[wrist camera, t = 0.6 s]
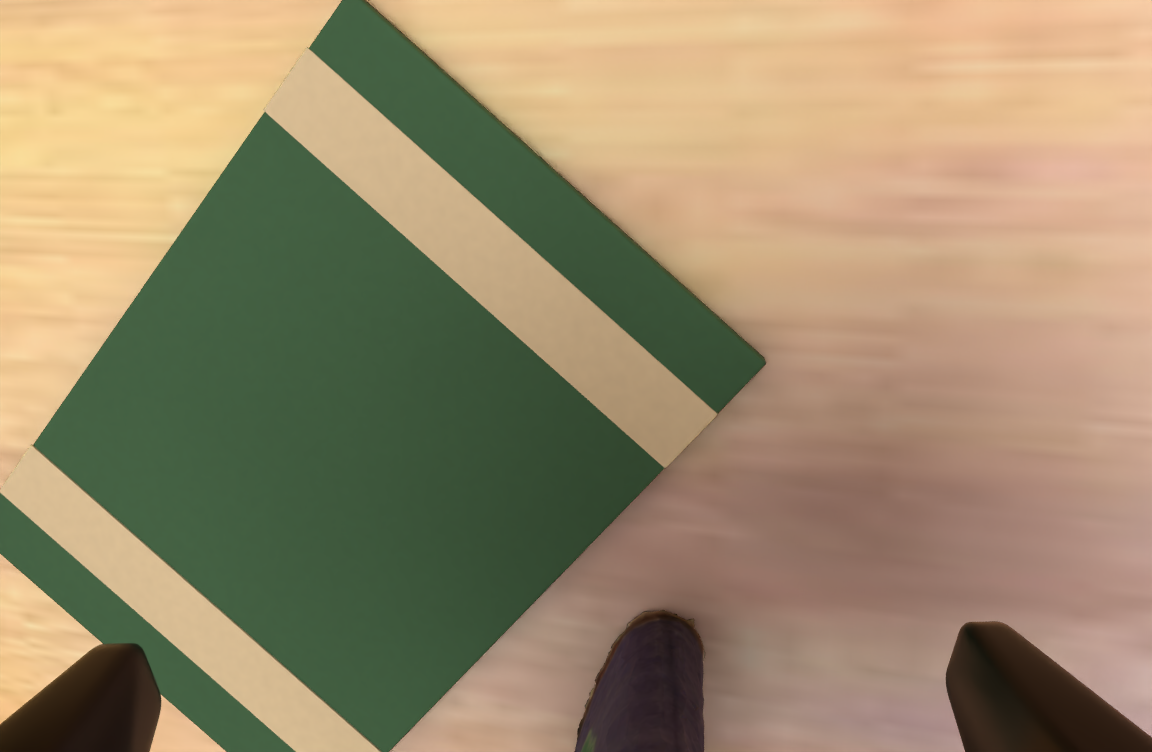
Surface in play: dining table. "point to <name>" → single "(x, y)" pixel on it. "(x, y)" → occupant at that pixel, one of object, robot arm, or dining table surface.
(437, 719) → the dining table surface
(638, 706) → the flask
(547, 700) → the dining table surface
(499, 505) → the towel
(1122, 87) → the dining table surface
